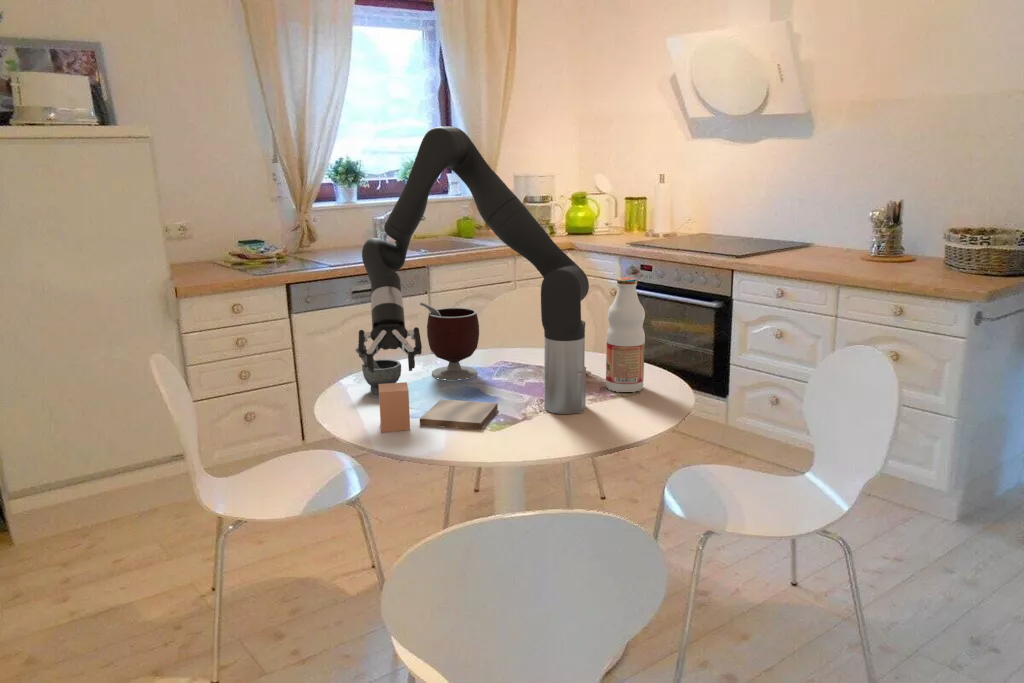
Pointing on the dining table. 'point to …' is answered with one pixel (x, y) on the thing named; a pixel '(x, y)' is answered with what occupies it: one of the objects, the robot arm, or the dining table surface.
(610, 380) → the fruit juice
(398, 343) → the robot arm
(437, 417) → the walnut board
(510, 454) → the dining table surface
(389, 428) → the tall tan upright block
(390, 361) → the mortar and pestle
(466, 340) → the mate gourd
